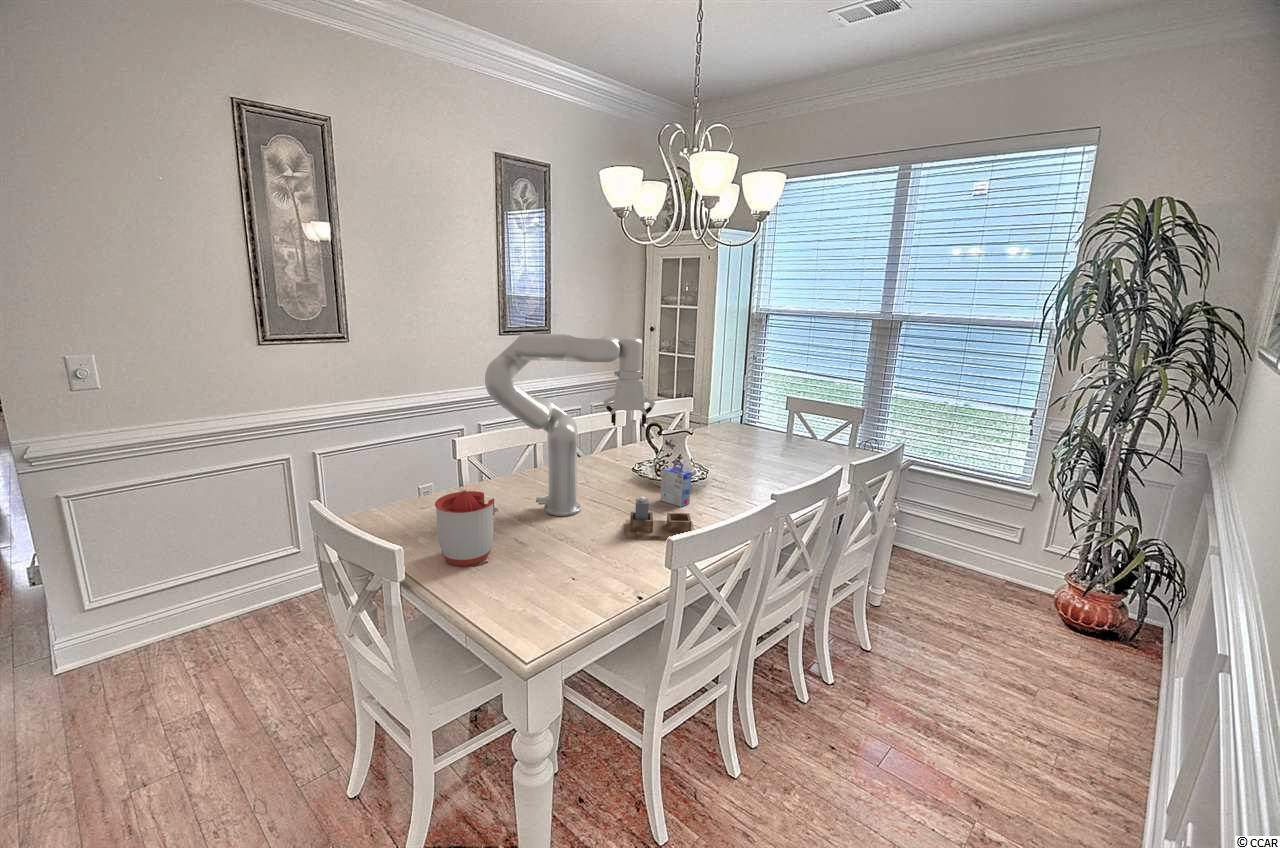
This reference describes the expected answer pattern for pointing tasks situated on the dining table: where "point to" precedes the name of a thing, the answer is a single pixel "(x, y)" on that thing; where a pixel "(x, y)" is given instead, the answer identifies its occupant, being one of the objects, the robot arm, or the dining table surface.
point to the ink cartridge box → (676, 485)
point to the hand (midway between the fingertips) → (628, 425)
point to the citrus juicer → (465, 527)
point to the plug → (642, 509)
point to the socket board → (658, 526)
